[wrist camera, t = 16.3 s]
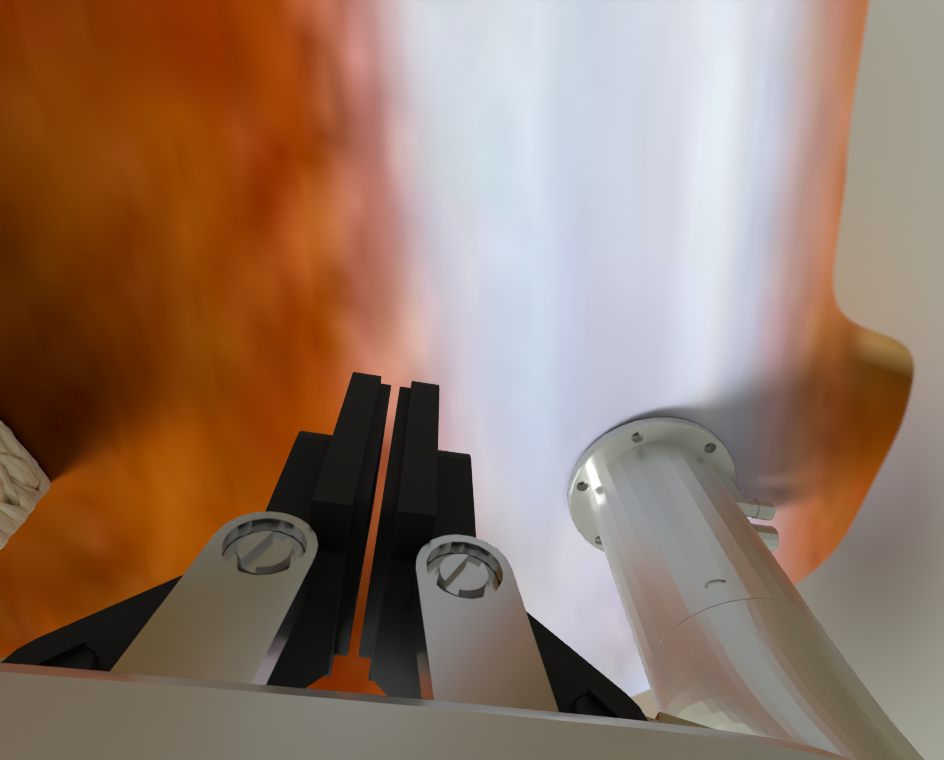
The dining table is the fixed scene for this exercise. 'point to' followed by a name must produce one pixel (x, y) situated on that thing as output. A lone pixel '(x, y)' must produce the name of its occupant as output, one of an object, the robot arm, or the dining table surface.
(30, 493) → the storage basket
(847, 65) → the dining table surface
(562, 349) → the dining table surface
